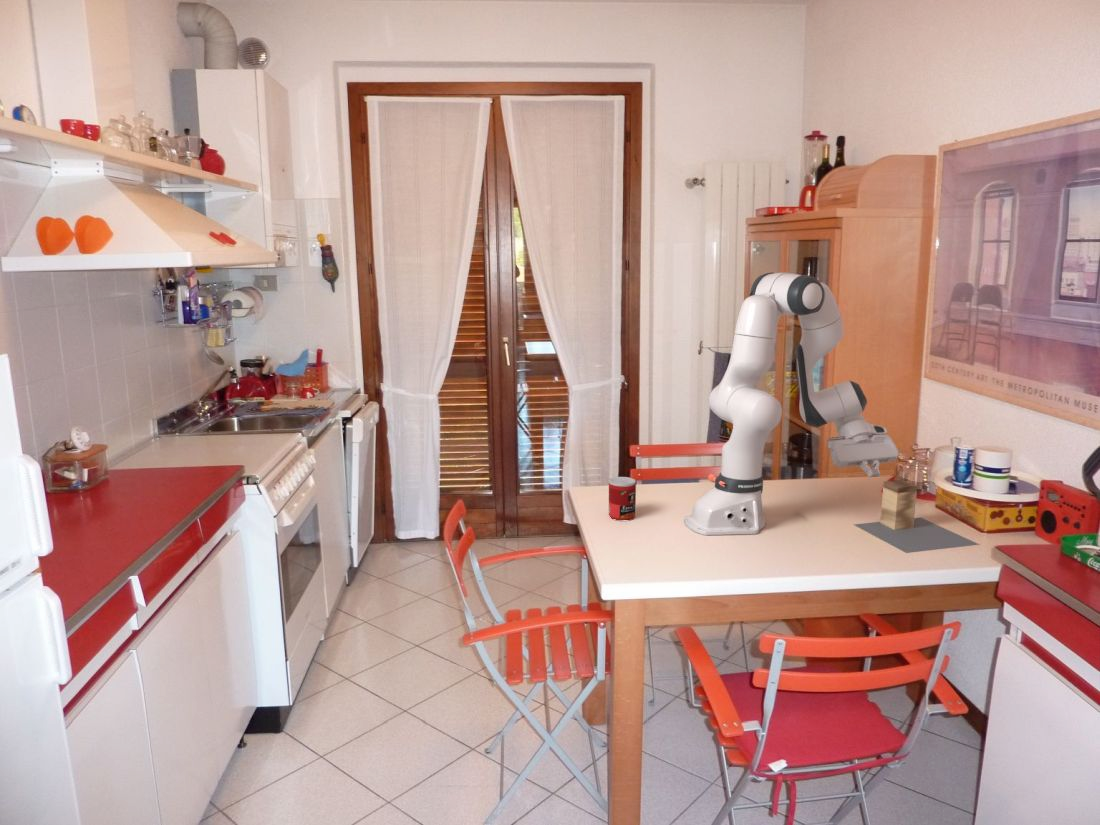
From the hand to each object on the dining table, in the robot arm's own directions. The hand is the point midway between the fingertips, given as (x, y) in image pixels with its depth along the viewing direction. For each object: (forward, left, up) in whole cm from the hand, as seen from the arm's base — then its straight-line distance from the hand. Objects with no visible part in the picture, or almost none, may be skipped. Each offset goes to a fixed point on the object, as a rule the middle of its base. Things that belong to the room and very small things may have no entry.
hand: (874, 476), depth 230 cm
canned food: (-70, +18, -12) cm, 73 cm away
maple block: (0, -11, -11) cm, 16 cm away
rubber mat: (0, -18, -12) cm, 22 cm away
